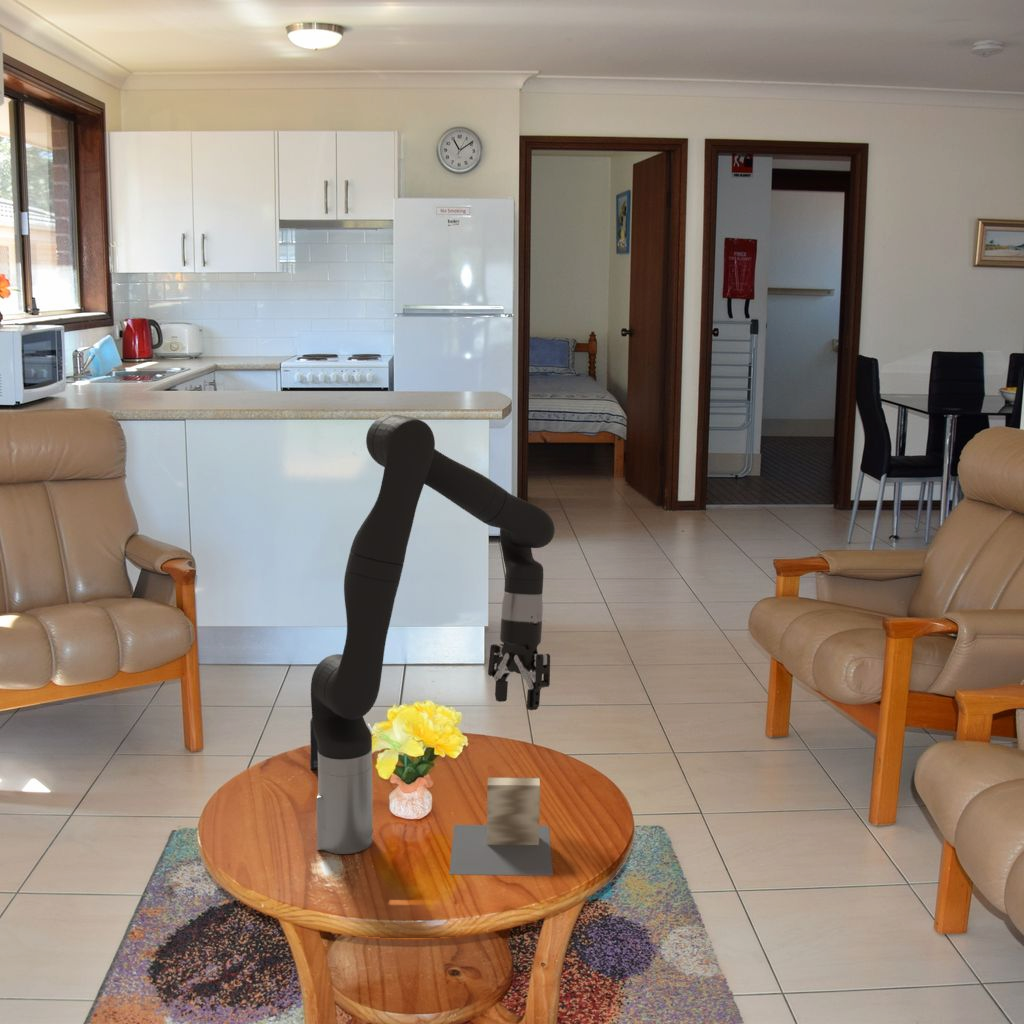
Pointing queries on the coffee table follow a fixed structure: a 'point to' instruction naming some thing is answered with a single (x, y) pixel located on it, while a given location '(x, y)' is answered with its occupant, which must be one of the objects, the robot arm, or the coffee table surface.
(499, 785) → the green flat block
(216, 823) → the coffee table surface
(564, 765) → the coffee table surface
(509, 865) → the rubber mat
